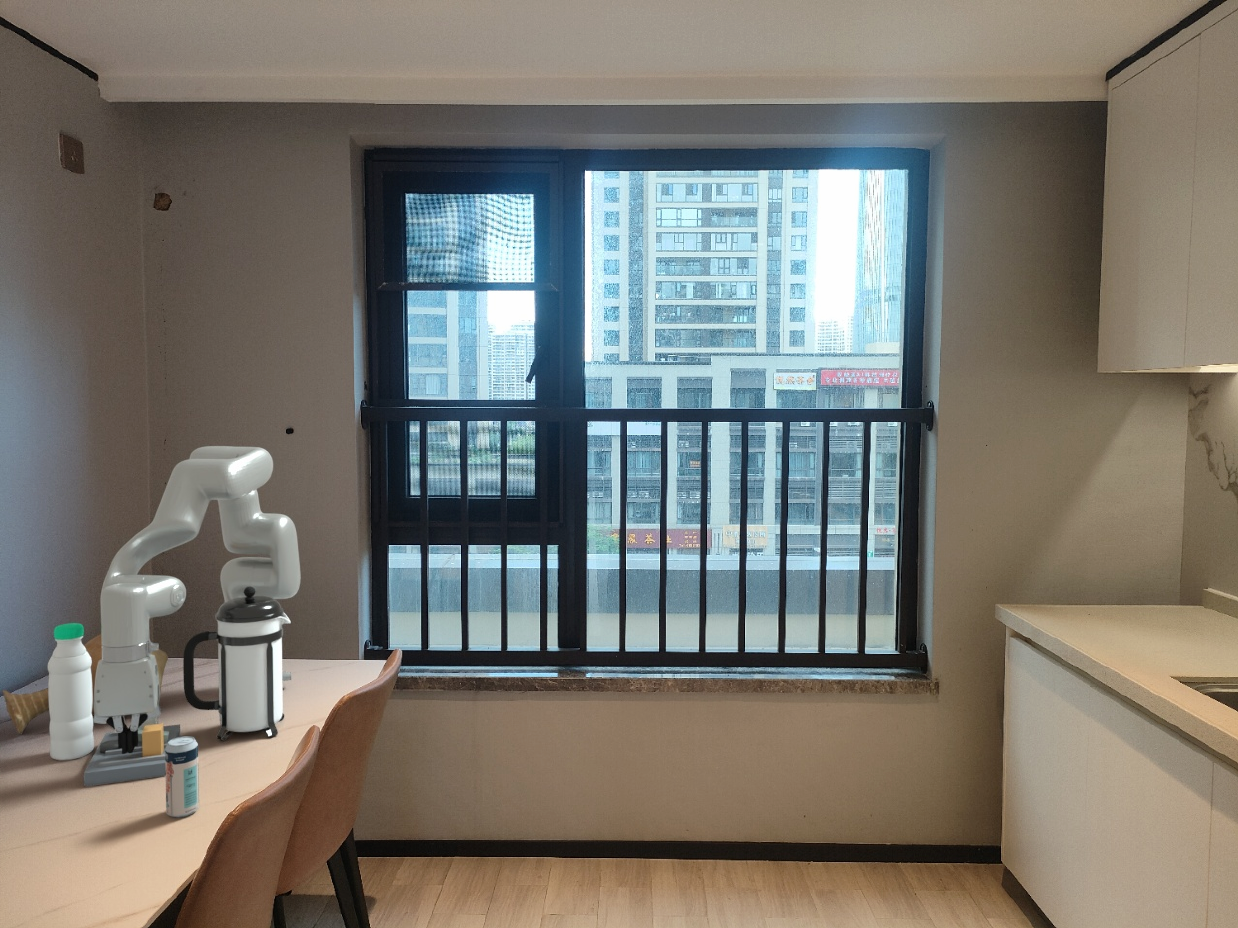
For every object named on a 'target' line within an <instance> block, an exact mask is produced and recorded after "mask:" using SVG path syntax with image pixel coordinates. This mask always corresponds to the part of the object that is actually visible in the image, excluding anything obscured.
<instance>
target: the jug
mask: <svg viewBox="0 0 1238 928" xmlns="http://www.w3.org/2000/svg"><path fill="white" fill-rule="evenodd" d="M83 645H84V647H85V648H86V651H87V652H88V654H89V655H90V657H91V660H92V664H91V667H90V668H91V675H92V715H94V714H95V713H94V688H95V677H96V670H97V666H98V662H99V660H101V659H102V638H101V633H100V634H98V635H96V636H95V637H93V638H91V639H90V640H89V641H86V643H85V644H83ZM150 654H152V655H155V658H156V663H157V668H158V675H159V686H160V694H161V692H162V682H163V677H164V672H165V668H166V665H167V662H168V660H169V657H168V654H167V653H166V652H165V651H163V650H161V649H160V648H159V649H158V650H157V651H154V652H151V653H150ZM2 694H3V696H4V702H5V705H6V711H7V713H8V715H9V717H10V718H11V721H12V722H13V724H14V727H15V728H16V729H17V730H16V731H17V733H18V734H19V735H22V734H23V732H24V730H25V728H26V726H27V725H29V723H31V721H32V720H34V719H35V718H37V717H38V716H39V715H42V714H44V713H45V712H49V695H48V687H47V688H45V689H44V688H43V689H41V690H38V691H33V692H30V693H28V692H27V693H22V694H18V693H11V692H9V691H7V690H6V689H3V690H2Z"/></svg>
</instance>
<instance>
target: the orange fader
mask: <svg viewBox="0 0 1238 928" xmlns="http://www.w3.org/2000/svg"><path fill="white" fill-rule="evenodd" d="M163 726H164V723H158V724H154V725H145V727H144V729H143V731H142V749H143V757H148V756H156V755H162V753H163V750H164V732H163Z"/></svg>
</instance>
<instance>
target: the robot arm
mask: <svg viewBox="0 0 1238 928" xmlns="http://www.w3.org/2000/svg"><path fill="white" fill-rule="evenodd" d="M273 471H274V460H273V457H272V455H271V454H270V452H269V451H268V450H266V449H265V448H262V447H258V446H231V445H229V446H227V445H211V446H209V445H207V446H202V447H198V448H196V449H194V450H193V451H192V452H191V453H190V455H189V458H188V459H185V460H182V461H180V462H179V463H176V465H175V466H174V467H173V469H172V471H171V473H170V474H171V475H169V476H170V477H169V479H168V482H167V484H166V486H165V489H164V492H163V494H162V497H161V500H160V503H159V505H158V508H157V510H156V512H155V515H154V517H153V520H152V522H151V523H150V524H148V525H147V526H145V528H143V529H142V530H140V531H139V532H137V533H136V534H135V535H134V536H133V537H131V538H130V539H129V540H128V541H126V543H125V544H124V545H123V546H122V547H121V548H120V549H119V550H118V551H117V553H116V554H115V555H114V557H113V558H112V560H111V563H110V565H109V568H108V569H107V573H106V575H105V578H104V579H103V584H102V586H101V587H102V588H101V593H100V624H101V625H100V628H101V629H100V630H101V631H100V632H101V633H100V634H101V638H102V659H101V660H99V662H98V666H97V670H96V677H95V688H94V713H95V714H93V715H94V716H93V724H101V725H102V724H103V725H104V724H105V725H106V724H107V725H108V726H109V727H110V728H111V729H113V730H114V732H117V733H118V748H122V754H126V753H127V751H128V753H132V752H133V750H134V748H135V746H138V728H139V727H140V726H141V725H142V724H143V723H144V722H145V721H146V720H147V719H151V718H154V717H157V716H158V717H160V715H161V713H162V710H161V707H160V700H161V693H160V686H159V675H158V668H157V663H156V658H155V655H152V654H150V653H151V652H154V651H157V650H158V649H160V648H159V647H160V646H159V642H155V643H154V642H152V641H151V639H150V619H151V618H157V617H158V618H159V617H165V616H168V615H171V614H174V613H175V612H178V610H180V609H181V607H182V606H183V605H184V602H185V601H186V597H187V589H186V586H185V584H184V582H182V581H181V580H180V579H179V578H177V577H175V576H171V575H158V574H157V575H154V574H138V573H139V572H140V570H141V568H142V567H143V566H145V564H146V563H147V562H148V561H150V560H152V559H153V558H154V557H156V556H157V555H159V554H161V553H163V552H166V551H169V550H171V549H173V548H176V547H178V546H181V545H184V544H186V543H188V542H190V541H193V540H194V539H195V538H196V537H197V536H198V535H199V532H200V530H201V526H202V523H203V521H204V518H205V515H206V513H207V510H208V506H209V505H210V502H211V501H212V500H213V501H217V502H218V503H217V504H218V511H219V518H220V524H221V525H220V526H221V533H222V541H223V545H224V547H225V549H226V550H227V551H228V552H229V553H233V554H236V555H254V556H253V557H252V556H249V557H248V556H242V557H236V558H233V559H231V560H229V561H227V562H225V564H224V565H223V566H222V568H221V571H220V587H221V590H222V594H223V599H224V603H225V602H227V601H229V600H232V599H235V598H240V597H247V596H245V594H244V593H243V592H244V590H245V588H246V587H249V586H251V587H253V588H254V589H255V591H256V592H255V595H254V596H264V597H270V598H273V599H275V600H286V599H290V598H293V597H294V596H295V595H297V594H298V591H299V589H300V585H301V579H302V578H301V576H302V575H301V564H300V563H301V562H300V553H299V544H298V543H299V541H298V533H297V530H296V525H295V523H294V521H293V520H292V519H291V517H289V516H288V515H286V514H281V513H264V512H262V510H261V505H260V499H259V493H258V489H260V488H262V487H263V486H264V485H265V484H266V483H267V482H268V481H269V480H270V479H271V477H272V474H273ZM255 555H258V556H257V557H256V556H255ZM259 555H261V557H259ZM262 555H263V556H269V557H262ZM282 681H283V682H285V681H292V671H288V672H287V670H282ZM125 716H131V721H130V724H129V727H128V725H127V724H126V719H125Z"/></svg>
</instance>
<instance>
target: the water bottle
mask: <svg viewBox="0 0 1238 928" xmlns="http://www.w3.org/2000/svg"><path fill="white" fill-rule="evenodd" d="M84 629H85V628H84V626H83V624H82V623H77V622H73V623H72V622H70V623H64V624H59V625H57V626H55V627H54V630H53V637H54V641H55V642H56V643H57V644H56V646H55V649H54V650H53V651H52V655H51V657H50V659H49V660H48V663H47V671H48V673H49V674H48V685H47V686H48V687H47V688H48V695H49V710H48V712H49V717H50V721H49V735H50V742H49V755H50V758H52V760H53V759H54V760H57V761H70V760H75V759H79V758H83V757H85V756H88V755H89V754H90V753H92V752H93V750H94V748H95V740H94V739H95V738H94V733H93V730H94V722H93V718H94V716H93V714H92V675H91V668H90V667H91V664H92V660H91V657H90V655H89V654H88V652H87V651H86V648H85V647H84V645H85V644H83V642H82V639H83V638H84V633H85V630H84Z"/></svg>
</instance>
